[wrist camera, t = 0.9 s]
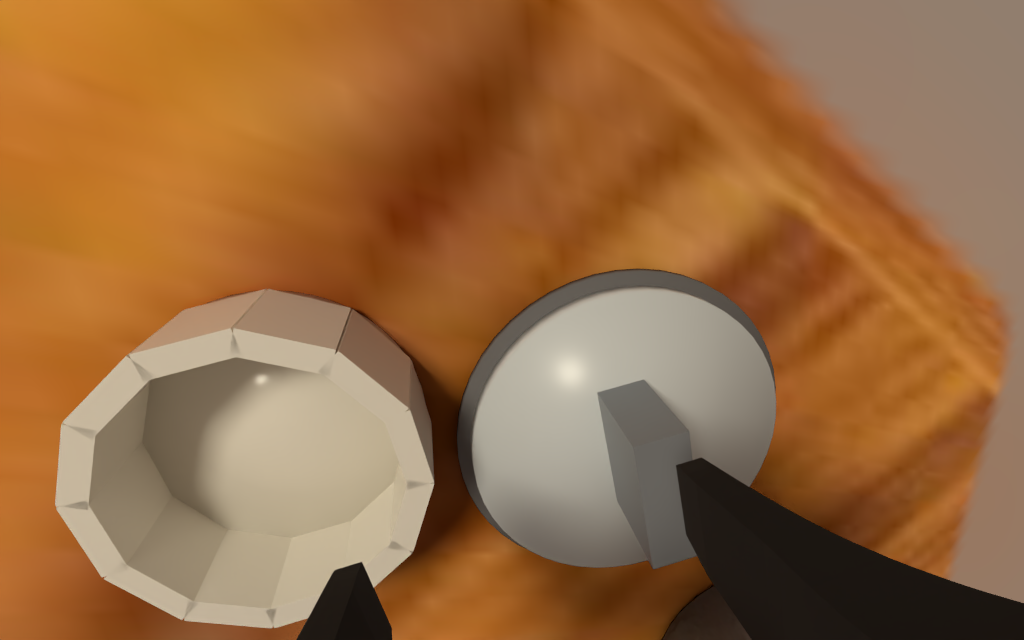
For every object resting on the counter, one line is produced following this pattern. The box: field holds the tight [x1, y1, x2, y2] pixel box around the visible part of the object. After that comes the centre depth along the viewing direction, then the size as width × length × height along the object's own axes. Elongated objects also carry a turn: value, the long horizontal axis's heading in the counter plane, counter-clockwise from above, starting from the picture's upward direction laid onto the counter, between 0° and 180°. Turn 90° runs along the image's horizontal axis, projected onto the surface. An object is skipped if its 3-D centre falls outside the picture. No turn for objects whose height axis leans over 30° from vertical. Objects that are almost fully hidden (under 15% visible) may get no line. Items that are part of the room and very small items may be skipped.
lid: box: [471, 285, 776, 569], centre depth 20 cm, size 12×12×4 cm
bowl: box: [55, 289, 434, 628], centre depth 18 cm, size 10×10×4 cm
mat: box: [457, 269, 776, 548], centre depth 22 cm, size 13×13×1 cm
